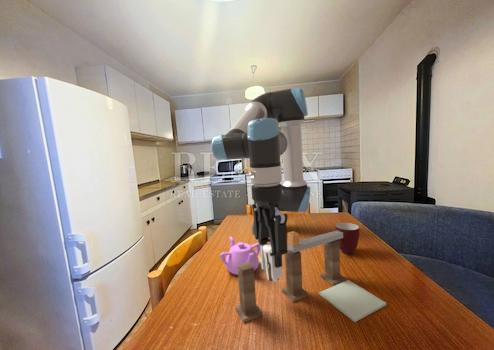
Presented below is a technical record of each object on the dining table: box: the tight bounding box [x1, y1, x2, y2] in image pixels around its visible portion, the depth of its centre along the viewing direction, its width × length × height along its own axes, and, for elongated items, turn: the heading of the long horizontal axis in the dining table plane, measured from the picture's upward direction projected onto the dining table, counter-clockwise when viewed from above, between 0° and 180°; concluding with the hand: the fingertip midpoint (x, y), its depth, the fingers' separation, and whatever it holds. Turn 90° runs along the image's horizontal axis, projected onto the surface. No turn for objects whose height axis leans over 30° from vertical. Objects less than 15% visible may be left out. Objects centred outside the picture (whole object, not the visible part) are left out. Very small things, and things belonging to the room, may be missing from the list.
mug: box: [334, 222, 360, 255], centre depth 79 cm, size 10×8×10 cm
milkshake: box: [258, 242, 281, 283], centre depth 55 cm, size 4×5×10 cm
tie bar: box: [287, 230, 343, 253], centre depth 61 cm, size 2×18×5 cm, turn 115°
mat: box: [318, 279, 387, 323], centre depth 55 cm, size 11×11×1 cm
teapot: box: [219, 235, 261, 276], centre depth 74 cm, size 12×14×9 cm
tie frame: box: [234, 240, 346, 323], centre depth 58 cm, size 5×33×12 cm, turn 115°
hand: (271, 272), depth 56 cm, fingers closed on milkshake, 4 cm apart
